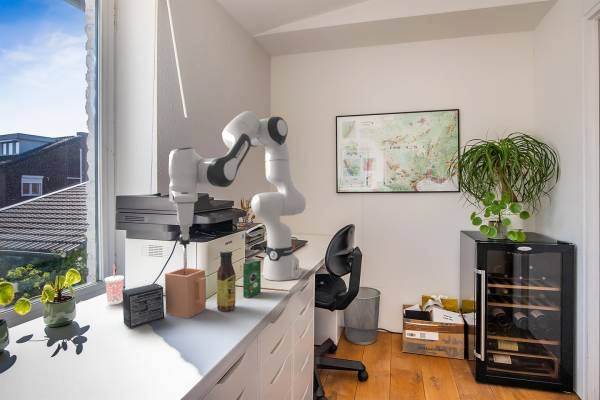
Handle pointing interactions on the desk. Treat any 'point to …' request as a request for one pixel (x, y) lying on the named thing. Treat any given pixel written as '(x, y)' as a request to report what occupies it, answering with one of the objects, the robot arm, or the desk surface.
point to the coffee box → (251, 278)
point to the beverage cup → (114, 288)
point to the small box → (143, 305)
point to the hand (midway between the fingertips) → (184, 237)
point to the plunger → (185, 252)
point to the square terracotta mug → (185, 292)
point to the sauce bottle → (226, 283)
